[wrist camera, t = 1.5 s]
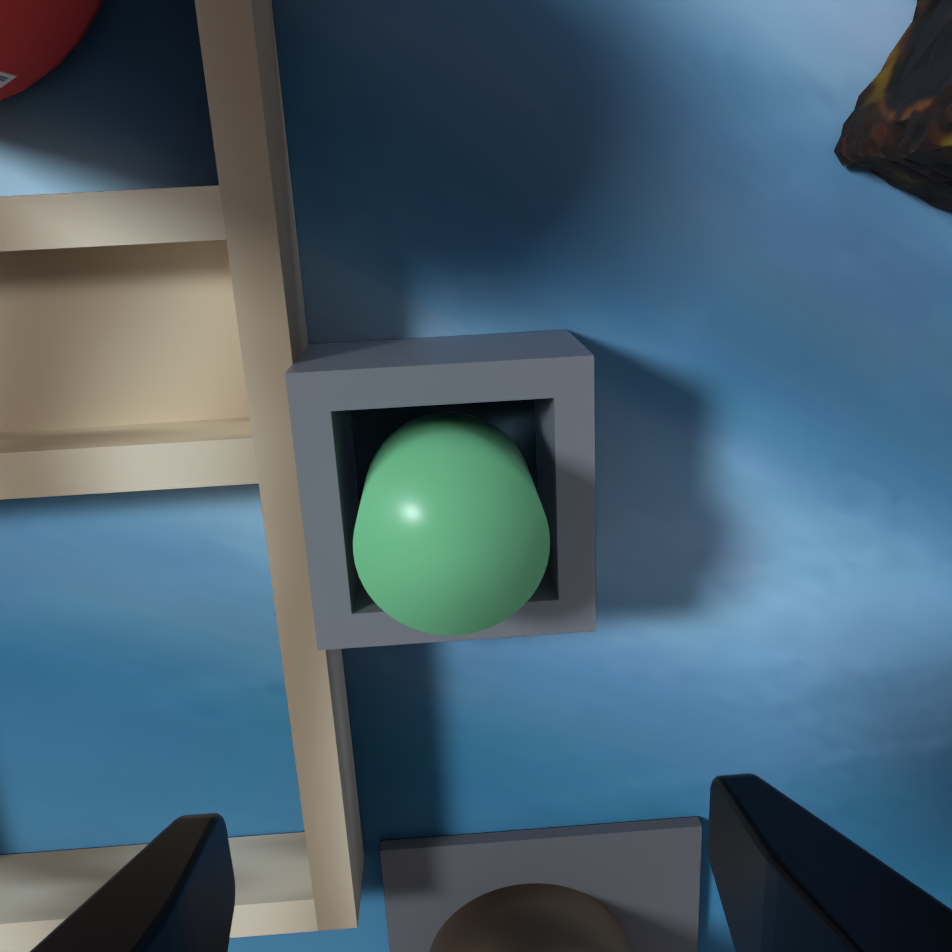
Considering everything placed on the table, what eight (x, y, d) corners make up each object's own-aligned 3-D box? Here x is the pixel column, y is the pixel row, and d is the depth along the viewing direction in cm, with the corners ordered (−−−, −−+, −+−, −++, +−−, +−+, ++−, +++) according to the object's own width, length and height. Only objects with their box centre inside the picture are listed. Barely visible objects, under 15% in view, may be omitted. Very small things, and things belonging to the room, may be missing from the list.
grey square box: (334, 581, 22) (317, 650, 19) (308, 344, 20) (284, 373, 17) (571, 565, 22) (596, 630, 19) (567, 329, 20) (593, 355, 17)
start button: (371, 576, 19) (362, 641, 16) (356, 417, 18) (343, 458, 15) (534, 565, 19) (551, 628, 16) (529, 407, 18) (547, 446, 15)
